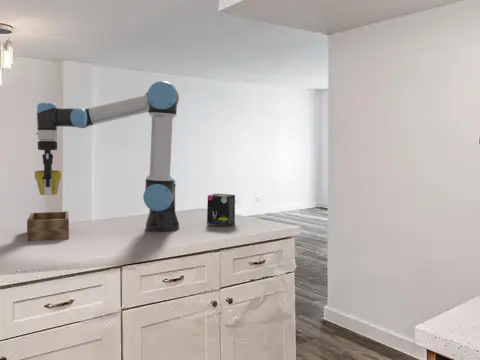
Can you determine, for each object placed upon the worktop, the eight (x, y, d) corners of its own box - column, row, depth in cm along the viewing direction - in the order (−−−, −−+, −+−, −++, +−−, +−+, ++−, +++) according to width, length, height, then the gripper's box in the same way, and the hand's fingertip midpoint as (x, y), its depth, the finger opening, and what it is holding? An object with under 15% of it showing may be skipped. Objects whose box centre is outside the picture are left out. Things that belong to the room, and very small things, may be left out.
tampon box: (206, 225, 221) (206, 195, 219) (214, 222, 229) (215, 193, 228) (227, 227, 216) (227, 196, 215) (235, 224, 225) (235, 194, 224)
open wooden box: (68, 228, 208) (68, 211, 207) (69, 238, 187) (68, 219, 186) (31, 230, 202) (30, 212, 202) (27, 241, 181) (26, 221, 181)
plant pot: (52, 196, 187) (51, 172, 186) (29, 195, 189) (29, 171, 188) (66, 193, 197) (66, 170, 196) (45, 192, 199) (44, 170, 198)
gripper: (39, 140, 201) (40, 191, 202) (36, 140, 179) (37, 196, 181) (57, 140, 203) (58, 190, 205) (56, 140, 182) (57, 196, 184)
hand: (48, 193), depth 193 cm, fingers closed on plant pot, 10 cm apart
